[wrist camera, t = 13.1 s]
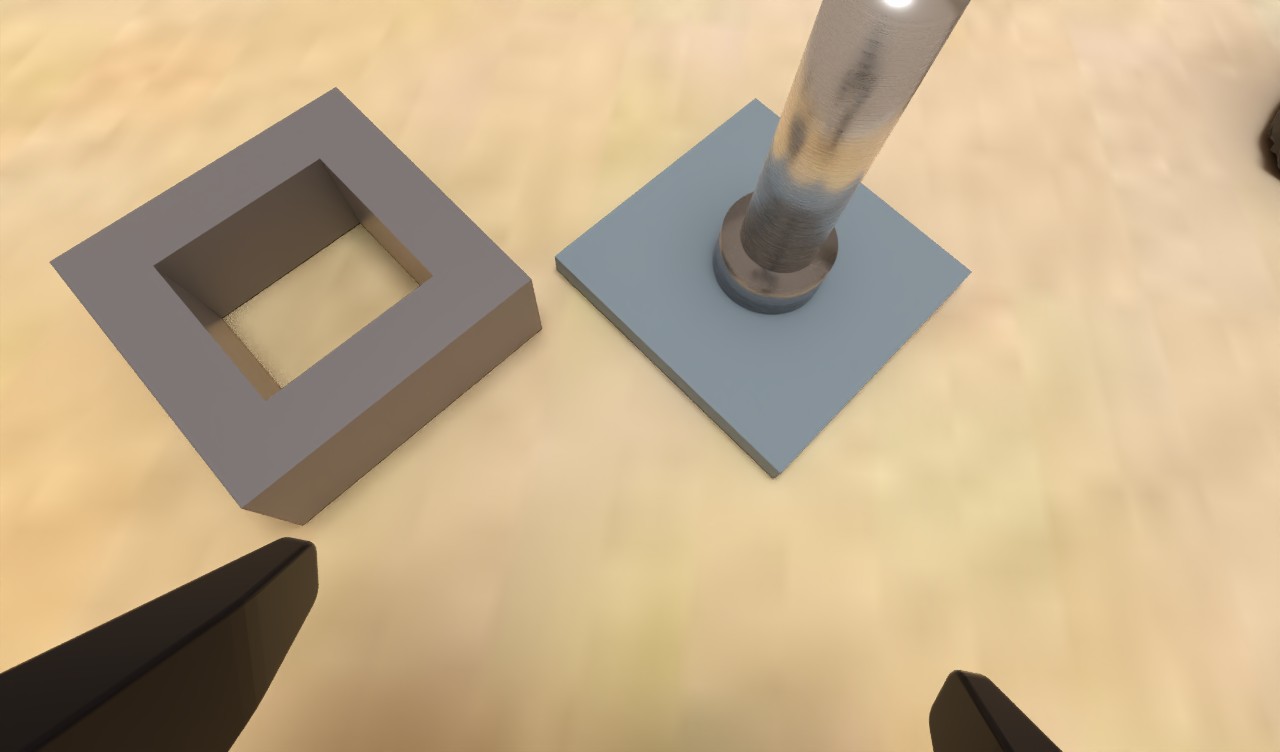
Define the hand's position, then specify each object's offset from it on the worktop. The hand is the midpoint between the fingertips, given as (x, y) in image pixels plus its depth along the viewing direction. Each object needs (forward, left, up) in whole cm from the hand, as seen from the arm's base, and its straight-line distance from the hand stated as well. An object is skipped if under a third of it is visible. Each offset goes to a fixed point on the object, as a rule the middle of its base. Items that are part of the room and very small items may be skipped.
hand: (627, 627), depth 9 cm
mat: (+5, -14, -14) cm, 20 cm away
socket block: (+15, 0, -14) cm, 20 cm away
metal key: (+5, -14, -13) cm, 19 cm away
